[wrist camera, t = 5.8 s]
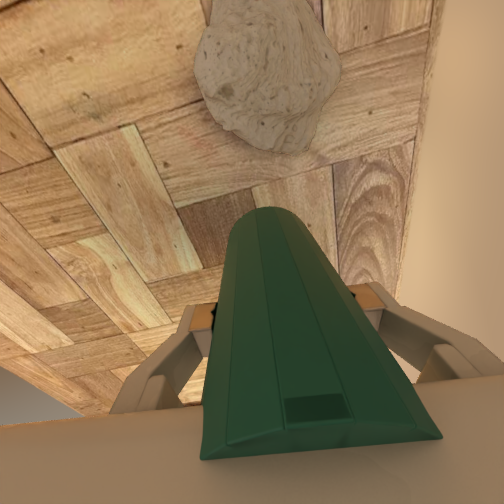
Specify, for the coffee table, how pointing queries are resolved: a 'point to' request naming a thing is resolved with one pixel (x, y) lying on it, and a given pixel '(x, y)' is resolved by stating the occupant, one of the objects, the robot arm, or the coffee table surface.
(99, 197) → the coffee table surface
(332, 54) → the stone
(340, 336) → the bottle
